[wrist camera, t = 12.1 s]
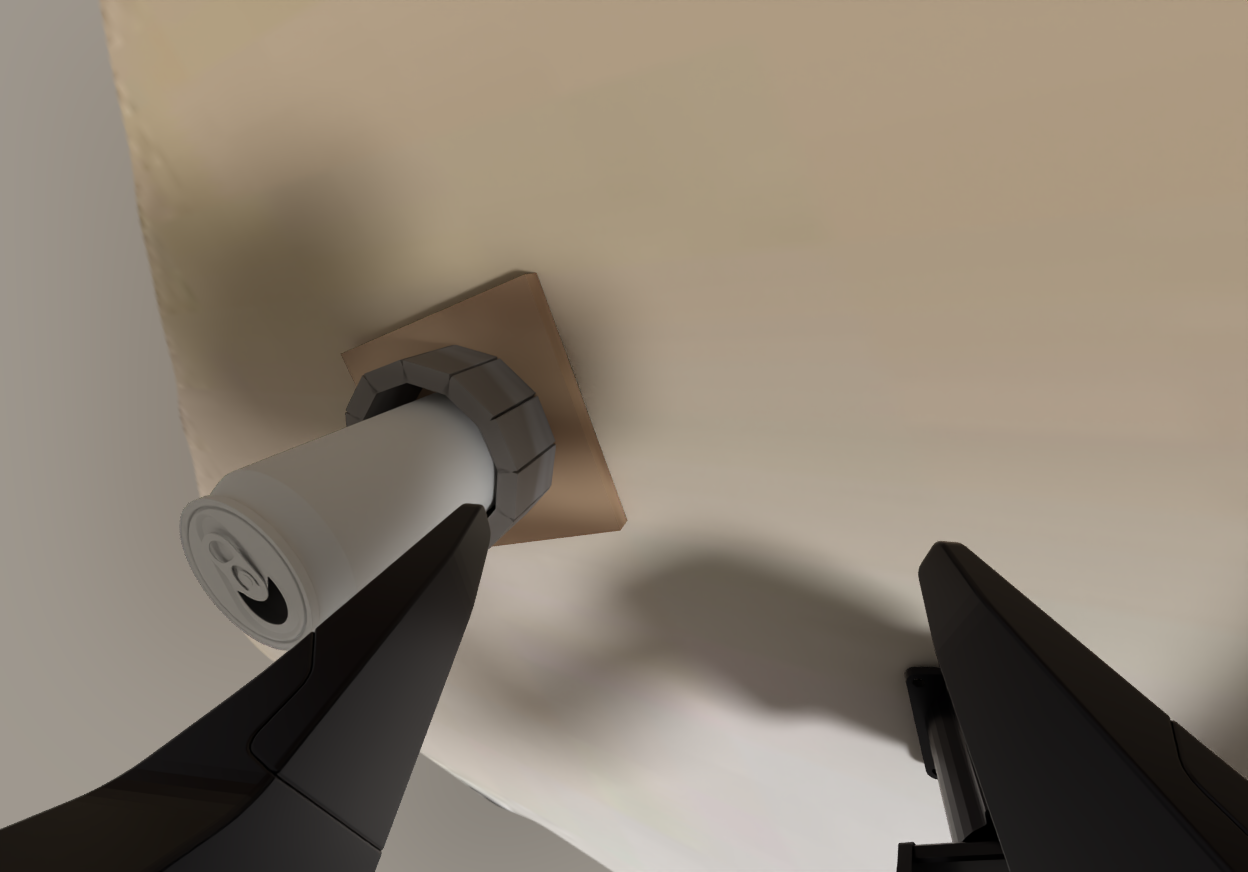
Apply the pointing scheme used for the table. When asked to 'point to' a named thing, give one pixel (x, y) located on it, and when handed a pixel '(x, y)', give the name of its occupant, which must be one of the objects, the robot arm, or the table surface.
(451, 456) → the beverage can
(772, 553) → the table surface
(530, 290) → the can holder
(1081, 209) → the table surface
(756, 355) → the table surface
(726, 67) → the table surface
